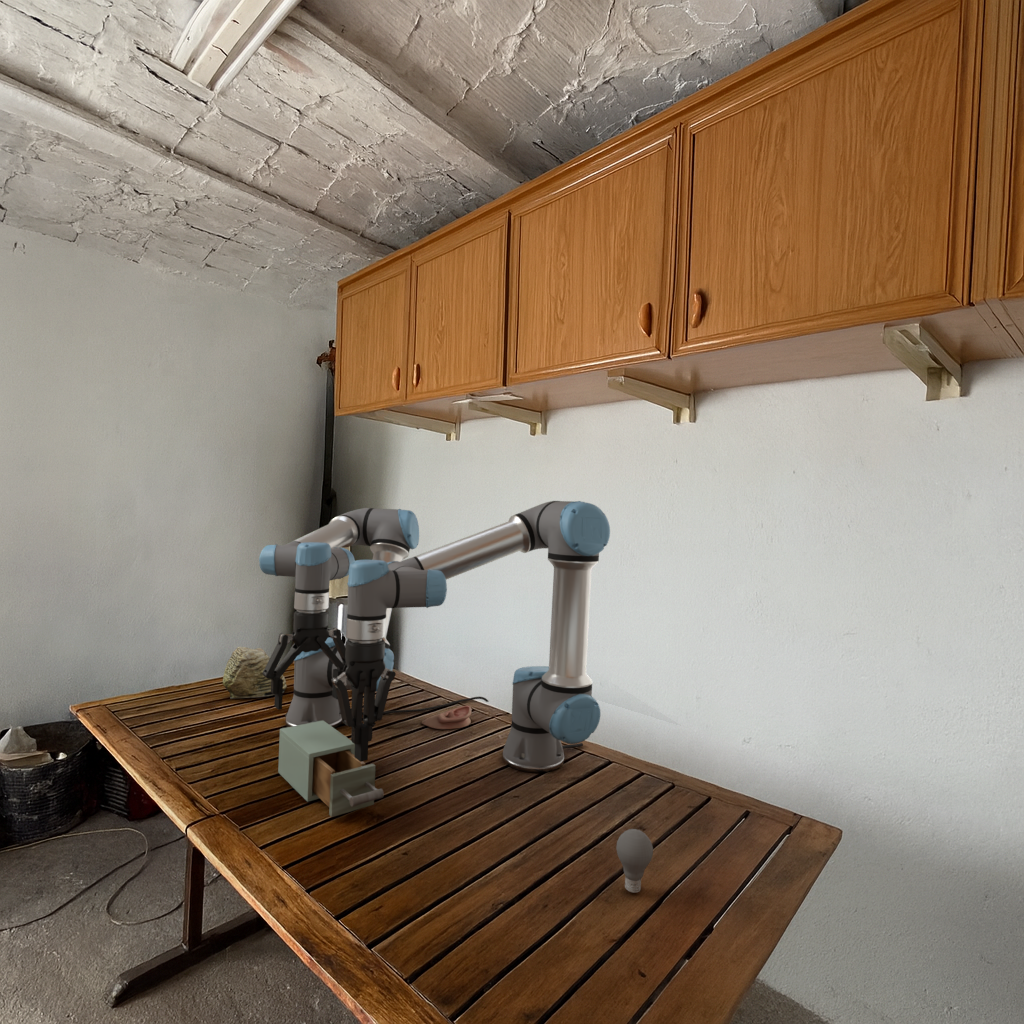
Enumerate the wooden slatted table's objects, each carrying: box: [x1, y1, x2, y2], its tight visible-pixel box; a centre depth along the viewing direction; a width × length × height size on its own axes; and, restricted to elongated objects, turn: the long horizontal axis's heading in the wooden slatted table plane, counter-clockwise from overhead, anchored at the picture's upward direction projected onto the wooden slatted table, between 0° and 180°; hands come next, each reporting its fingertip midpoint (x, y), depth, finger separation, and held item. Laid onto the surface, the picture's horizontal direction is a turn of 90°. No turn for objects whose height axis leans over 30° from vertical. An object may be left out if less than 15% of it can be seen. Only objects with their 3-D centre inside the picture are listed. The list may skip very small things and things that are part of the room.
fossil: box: [222, 646, 288, 699], centre depth 198 cm, size 9×18×15 cm, turn 132°
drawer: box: [312, 750, 385, 818], centre depth 130 cm, size 22×9×8 cm, turn 40°
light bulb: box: [615, 828, 654, 894], centre depth 106 cm, size 6×6×10 cm
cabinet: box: [277, 720, 355, 803], centre depth 141 cm, size 17×10×10 cm, turn 40°
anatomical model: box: [421, 705, 472, 730], centre depth 181 cm, size 13×4×12 cm
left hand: (307, 702), depth 145 cm, fingers open, 13 cm apart
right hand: (360, 758), depth 124 cm, fingers closed
